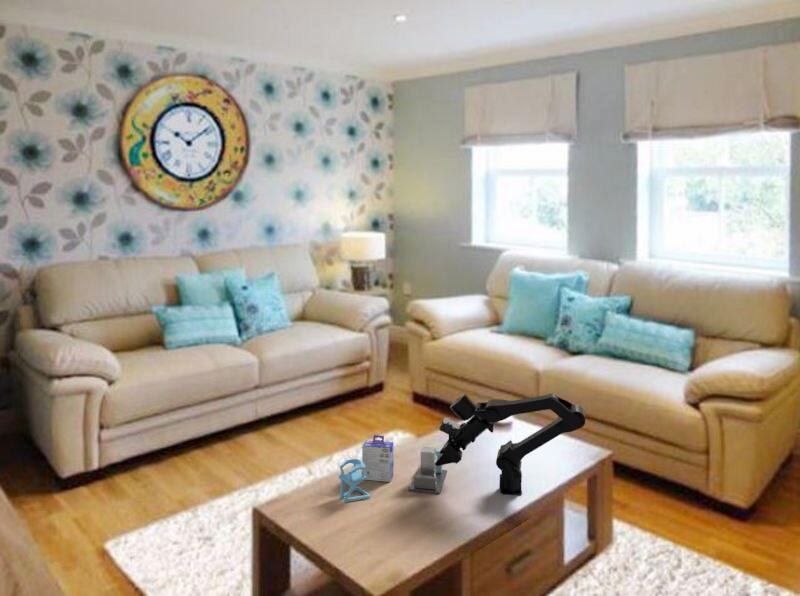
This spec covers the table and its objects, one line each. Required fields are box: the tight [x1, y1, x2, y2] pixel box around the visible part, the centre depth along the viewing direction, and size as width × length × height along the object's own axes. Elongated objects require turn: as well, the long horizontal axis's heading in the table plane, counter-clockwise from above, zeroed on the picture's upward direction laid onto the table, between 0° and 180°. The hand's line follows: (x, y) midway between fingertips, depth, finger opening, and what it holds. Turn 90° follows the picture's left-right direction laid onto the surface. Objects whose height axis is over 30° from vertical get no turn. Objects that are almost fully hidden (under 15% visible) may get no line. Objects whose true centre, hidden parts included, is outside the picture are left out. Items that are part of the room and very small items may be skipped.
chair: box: [338, 458, 371, 503], centre depth 206 cm, size 8×8×12 cm
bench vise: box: [408, 467, 448, 495], centre depth 216 cm, size 16×10×5 cm, turn 167°
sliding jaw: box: [436, 448, 443, 473], centre depth 226 cm, size 11×7×4 cm, turn 167°
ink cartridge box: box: [361, 434, 395, 483], centre depth 218 cm, size 10×6×14 cm, turn 79°
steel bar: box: [420, 446, 437, 476], centre depth 216 cm, size 4×4×10 cm
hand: (438, 458), depth 214 cm, fingers open, 9 cm apart
